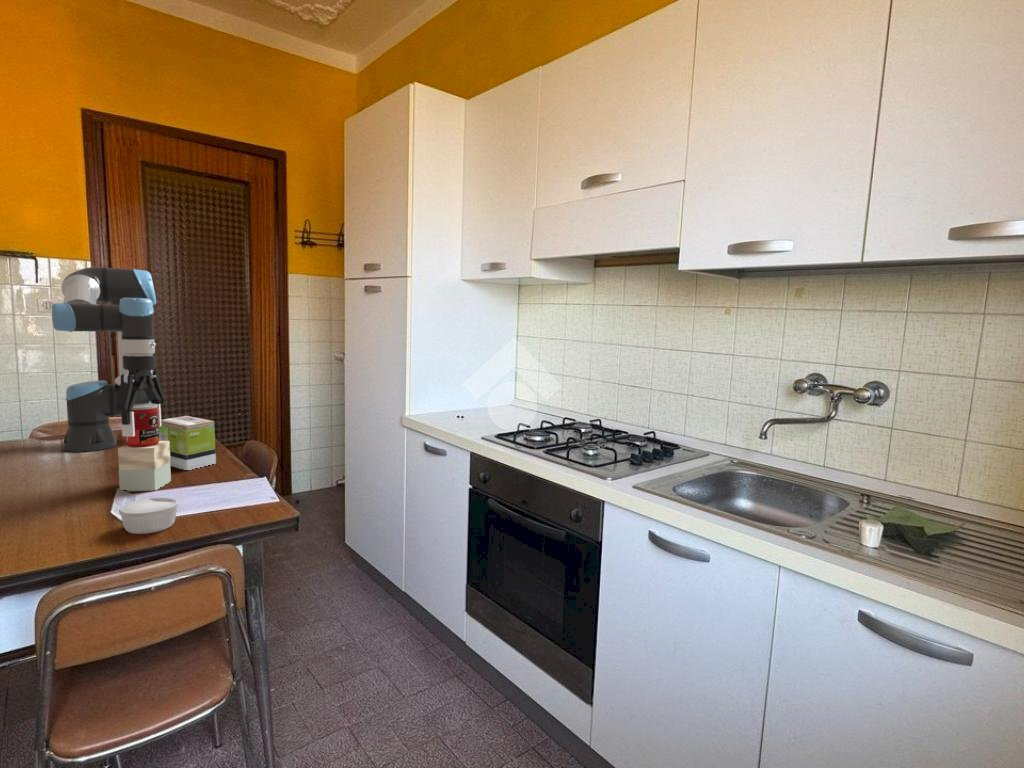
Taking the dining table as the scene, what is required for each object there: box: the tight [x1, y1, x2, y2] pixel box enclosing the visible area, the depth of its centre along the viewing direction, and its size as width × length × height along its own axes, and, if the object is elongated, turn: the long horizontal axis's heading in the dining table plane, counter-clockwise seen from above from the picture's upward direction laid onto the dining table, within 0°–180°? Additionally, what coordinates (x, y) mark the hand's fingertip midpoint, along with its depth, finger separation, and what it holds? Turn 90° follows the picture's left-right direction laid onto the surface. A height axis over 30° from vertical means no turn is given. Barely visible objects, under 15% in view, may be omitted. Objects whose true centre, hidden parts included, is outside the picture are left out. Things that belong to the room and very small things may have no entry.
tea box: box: [159, 415, 217, 471], centre depth 177 cm, size 15×10×15 cm
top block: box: [117, 441, 170, 471], centre depth 154 cm, size 9×9×6 cm
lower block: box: [118, 462, 172, 492], centre depth 155 cm, size 9×9×6 cm
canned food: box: [125, 403, 159, 447], centre depth 153 cm, size 8×8×11 cm
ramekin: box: [118, 497, 179, 535], centre depth 126 cm, size 11×11×5 cm
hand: (142, 431), depth 153 cm, fingers open, 13 cm apart
